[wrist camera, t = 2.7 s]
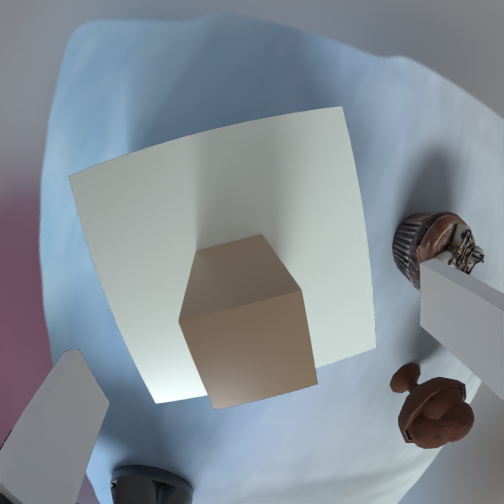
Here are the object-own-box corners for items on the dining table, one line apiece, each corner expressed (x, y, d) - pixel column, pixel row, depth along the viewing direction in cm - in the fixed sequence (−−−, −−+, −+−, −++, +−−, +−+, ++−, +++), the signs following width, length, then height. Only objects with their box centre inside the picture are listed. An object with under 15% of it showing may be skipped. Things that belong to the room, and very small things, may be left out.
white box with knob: (174, 324, 34) (138, 499, 12) (127, 173, 29) (-29, 186, 7) (322, 286, 34) (438, 422, 13) (291, 131, 30) (431, 67, 8)
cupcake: (371, 260, 34) (419, 290, 25) (410, 190, 33) (467, 200, 23) (419, 292, 36) (466, 324, 27) (454, 230, 35) (506, 248, 25)
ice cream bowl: (398, 342, 38) (460, 406, 24) (443, 354, 40) (499, 407, 26) (361, 400, 40) (404, 472, 26) (409, 406, 42) (452, 464, 28)
